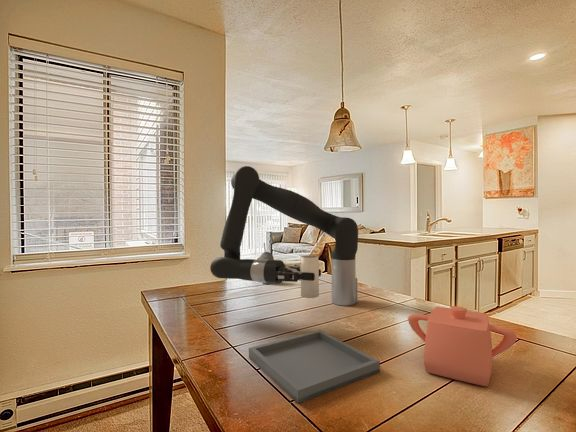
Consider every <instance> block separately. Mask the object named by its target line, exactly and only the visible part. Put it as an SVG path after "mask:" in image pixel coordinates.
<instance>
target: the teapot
mask: <svg viewBox="0 0 576 432" xmlns="http://www.w3.org/2000/svg"><path fill="white" fill-rule="evenodd" d="M407 320H408V321H407V322H408V324H409V326H410V328H411V329H412V331H414V333H415V334H416V335H417V337H419V338H420V339H421V340H422V341H423V342H424V352H423V354H424V356H423V360H424V368H425V371H426V373H429V374H433V375H437V376H439V377H443V378H448V379H452V380H457V381H460V382H464V383H468V384H474V385H477V386H481V387H488V386H489V385H490V381H491V376H492V371H493V360H494V357H497V356H498V355H501V354H502V353H504V352H505V351H507V350H508V349H510V348H511V347H513V345H514V344H515V343H516V342H517V339H518V336H517V333H516V332H514V331H513V330H512V329H509V328H507V327H502V326H499V325H492V324H490V320H489V315H488V314H487V313H485V312H480V311H479V312H477V311H473V310H468V309H467V308H464V307H463V306H458V305H457V306H456V305H455V306H450V307H444V306H435V307H434V308H433V309H432V310H431V312H430V314H429V315H428V314H421V313H414V314H410V315H409V316H408V317H407ZM419 321H427V323H426V329H425V330H426V331H425V332H424V331H423V329H422V328H421V327H420V324H419ZM491 332H494V333H499V334H501V335H502V336H503V338H502V340H500V343H499V344H497V345H496V346H495V347H494V348H493V343H492V334H491Z"/></svg>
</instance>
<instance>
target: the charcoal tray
mask: <svg viewBox="0 0 576 432" xmlns="http://www.w3.org/2000/svg"><path fill="white" fill-rule="evenodd" d="M248 359H249V360H251V362H253V363H254V364H255V365H256V366H257V367H258V368H259V369H260V370H261V371H262V372H263V373H264V374H266V376H267V377H268V378H269V379H270V380H272V381H273V382H274V383H275V384H276V385H277V386H278V387H279V388H280V389H282V390H283V391H284V392H285V393H286V394H287V395H288V396H289V397H290V398H291V399H292V400H293V401H294V402H295V403H297V404H298V405H299V404H300V403H304V402H306V401H309V400H311V399H314V398H316V397H319V396H322V395H324V394H326V393H327V394H328V393H329V392H332V391H334V390H337V389H339V388H343V387H345V386H347V385H350V384H353V383H356V382H357V381H361V380H363V379H366V378H368V377H371V376H373V375H377V374H378V373H381V361H380V360H378V359H377V358H375V357H373V356H371V355H369V354H367V353H365V352H363V351H361V350H359V349H357V348H355V347H354V346H352V345H350V344H348V343H346V342H344V341H343V340H340V339H339V338H337V337H335V336H332V335H330V334H329V333H327V332H325V331H323V330H321V329H318V330H314V331H310V332H305V333H302V334H299V335H294V336H291V337H286V338H283V339H278V340H275V341H270V342H267V343H263V344H259V345H255V346H250V347H248Z"/></svg>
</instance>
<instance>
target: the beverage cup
mask: <svg viewBox="0 0 576 432" xmlns="http://www.w3.org/2000/svg"><path fill="white" fill-rule="evenodd" d="M263 247H264V251H263V252H261V254H260V255H259V259H268V260H275V259H274V258H275V257H274V255H273V254H272V253H271V252H269V251H266V243H265V242H263ZM261 284H262V285H272V283H261Z"/></svg>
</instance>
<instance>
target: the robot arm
mask: <svg viewBox="0 0 576 432" xmlns="http://www.w3.org/2000/svg"><path fill="white" fill-rule="evenodd" d="M230 184H231V187H232V189H233V195H232V196H233V197H232V202H231V205H230V209H229V212H228V215H227V218H226V220H225V223H224V227H223V231H222V236H221V240H220V248H221V249H222V251H223V252H224V255H223V257H222V256H221V257H217V258H215V259H213V261H211V264H210V267H209V268H210V273H211V275H213V276H214V277H215V278H218V279H226V280H227V279H229V280H230V279H232V280H233V279H237V280H243V281H250V282H251V281H252V282H258V283H261V284H262V283H271V285H272V284H273V285H275V284H276V285H280V284H282V283H283V282H290V283H293V282H294V283H297V282H298V281H299V282H301V280H309V281H314V280H315V274H314V273H307V272H301V265H298V264H295V265H287V266H286V265H285V263H284V261H283V260H280V259H274V260H268V259H260V258H258V259H252V258H251V259H250V258H243V259H242V258H241V246H242V242H243V237H244V233H245V228H246V224H247V218H248V214H249V210H250V207H251V203H252V200H253V199H254V200H256V201H259V202H261V203H263V204H265V205H266V206H268V207H270V208H271V209H274V210H275V211H278V212H279V213H281V214H283V215H285V216H287V217H289V218H291V219H293V220H295V221H298V222H300V223H303V224H306V225H308V226H311V227H314V228H316V229H318V230H320V231H322V232H323V233H325V234H327V235H328V236H329V237H331V238H333V239H334V241H335V242H334V243H335V244H334V246H335V247H334V249H333V250H332V251H331V303H332V304H334V305H336V306H343V307H344V306H352V305H355V304H356V303H358V277H356V272H357V271H356V254H357V252H358V248H359V247H358V245H359V229H358V228H359V227H358V224H357V222H356V220H354V219H353V218H351V217H345V216H344V217H341V216H337V215H334V214H332V213H329V212H327V211H325V210H323V209H322V208H321V207H319V206H318V205H317V204H316V203H315V202H313V201H312V200H310V199H309V198H307V197H306V196H303V195H302V194H299V193H297V192H295V191H292V190H291V189H286V188H284V187H283V188H282V187H280V186H279V187H278V186H274V185H272V184H270V183H267V182H265V181H264V180H262V179H260V175H259V172H258V171H257V169H255V168H254V167H253V166H249V165H245V166H241V167H239V168H238V169H236V170H235V172H234V173H233V175H232V176H231V180H230ZM321 276H322V269H320V268H319V277H321Z"/></svg>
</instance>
